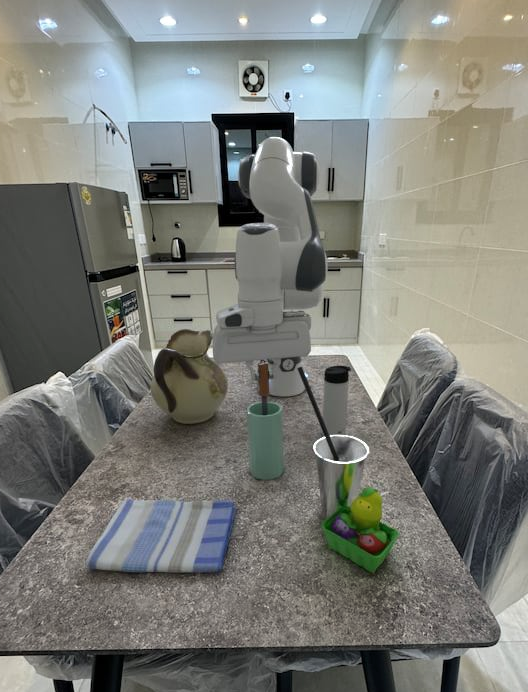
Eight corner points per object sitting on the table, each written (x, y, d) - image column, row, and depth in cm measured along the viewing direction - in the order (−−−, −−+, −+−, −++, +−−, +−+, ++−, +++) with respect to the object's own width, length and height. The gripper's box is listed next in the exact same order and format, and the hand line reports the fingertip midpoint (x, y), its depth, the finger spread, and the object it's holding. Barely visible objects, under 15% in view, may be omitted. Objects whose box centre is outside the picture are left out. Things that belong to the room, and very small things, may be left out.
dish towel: (125, 505, 80) (123, 494, 78) (238, 507, 78) (237, 496, 77) (82, 573, 64) (78, 560, 63) (222, 578, 62) (220, 565, 61)
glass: (296, 505, 79) (296, 366, 67) (344, 492, 82) (352, 358, 70) (321, 541, 69) (325, 387, 57) (373, 524, 73) (388, 376, 61)
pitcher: (217, 396, 132) (211, 324, 122) (241, 424, 112) (236, 341, 102) (150, 409, 123) (137, 332, 113) (163, 441, 104) (149, 352, 94)
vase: (247, 463, 93) (244, 403, 87) (279, 459, 95) (277, 399, 88) (253, 481, 86) (249, 418, 80) (286, 476, 88) (286, 414, 81)
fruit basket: (318, 547, 68) (319, 495, 63) (345, 521, 74) (349, 472, 69) (375, 583, 61) (381, 527, 56) (401, 551, 67) (408, 498, 62)
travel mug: (345, 443, 101) (350, 372, 93) (321, 441, 102) (323, 370, 94) (347, 432, 107) (351, 364, 99) (323, 430, 108) (325, 362, 100)
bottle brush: (256, 446, 90) (252, 361, 81) (272, 444, 91) (270, 360, 82) (259, 455, 86) (255, 367, 78) (276, 453, 87) (274, 365, 79)
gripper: (306, 307, 81) (306, 369, 86) (208, 313, 77) (214, 378, 82) (316, 313, 75) (314, 379, 81) (210, 319, 71) (216, 388, 77)
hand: (263, 378), depth 81 cm, fingers closed on bottle brush, 2 cm apart
